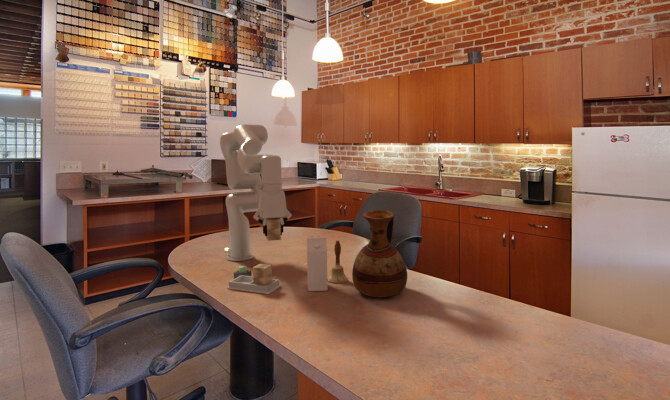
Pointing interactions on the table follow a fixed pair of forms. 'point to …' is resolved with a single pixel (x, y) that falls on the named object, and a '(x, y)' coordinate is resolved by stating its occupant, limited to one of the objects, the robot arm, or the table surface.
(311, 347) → the table surface
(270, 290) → the grey divided tray
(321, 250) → the milk carton
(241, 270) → the button
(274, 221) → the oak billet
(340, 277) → the hand bell
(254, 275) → the block
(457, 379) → the table surface
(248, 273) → the console
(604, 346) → the table surface
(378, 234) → the ceramic pitcher
